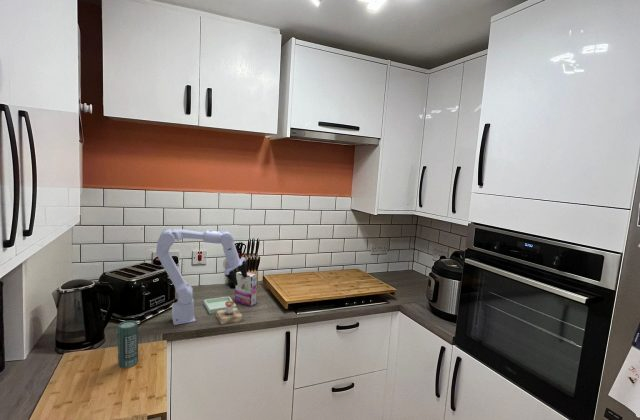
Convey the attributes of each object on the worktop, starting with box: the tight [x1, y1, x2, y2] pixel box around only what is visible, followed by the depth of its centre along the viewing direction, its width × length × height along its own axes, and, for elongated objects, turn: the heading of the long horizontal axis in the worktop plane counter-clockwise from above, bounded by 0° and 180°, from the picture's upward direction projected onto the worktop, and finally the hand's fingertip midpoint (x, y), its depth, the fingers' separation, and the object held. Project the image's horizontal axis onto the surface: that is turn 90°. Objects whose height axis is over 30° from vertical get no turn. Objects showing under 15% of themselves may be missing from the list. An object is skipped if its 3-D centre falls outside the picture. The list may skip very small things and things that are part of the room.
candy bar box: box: [234, 270, 258, 307], centre depth 184 cm, size 11×5×16 cm, turn 62°
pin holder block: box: [215, 307, 243, 325], centre depth 165 cm, size 10×10×2 cm
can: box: [117, 320, 139, 369], centre depth 124 cm, size 6×6×15 cm
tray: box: [203, 296, 237, 315], centre depth 177 cm, size 13×13×2 cm
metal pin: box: [225, 300, 235, 316], centre depth 165 cm, size 4×4×8 cm
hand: (240, 281), depth 167 cm, fingers open, 7 cm apart
